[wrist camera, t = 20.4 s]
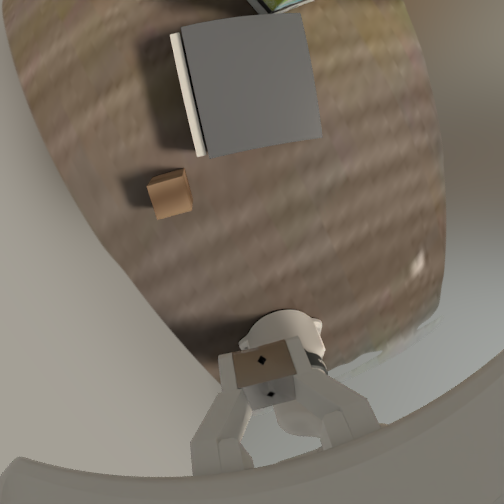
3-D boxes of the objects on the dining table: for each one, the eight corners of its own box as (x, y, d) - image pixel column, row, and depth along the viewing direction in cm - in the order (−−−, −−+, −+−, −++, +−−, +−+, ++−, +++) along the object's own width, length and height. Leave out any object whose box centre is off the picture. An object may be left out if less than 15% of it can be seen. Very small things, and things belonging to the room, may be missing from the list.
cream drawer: (298, 131, 38) (310, 134, 34) (197, 151, 37) (197, 157, 33) (278, 26, 29) (288, 17, 25) (173, 43, 28) (169, 34, 24)
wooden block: (192, 198, 41) (191, 210, 37) (162, 207, 41) (157, 219, 37) (184, 168, 38) (182, 176, 34) (152, 177, 38) (146, 186, 34)
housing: (306, 132, 39) (322, 137, 34) (208, 151, 38) (209, 158, 33) (286, 24, 29) (300, 13, 24) (183, 38, 29) (180, 27, 23)
